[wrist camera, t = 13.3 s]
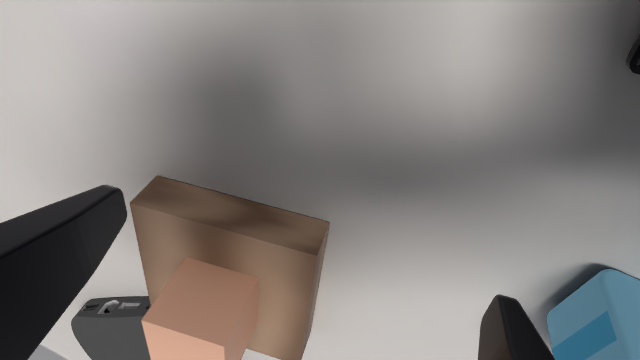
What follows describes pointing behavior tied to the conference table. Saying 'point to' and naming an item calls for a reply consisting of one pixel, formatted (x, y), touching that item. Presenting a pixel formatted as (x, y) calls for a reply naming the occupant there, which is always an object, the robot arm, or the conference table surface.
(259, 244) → the walnut block
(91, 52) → the conference table surface
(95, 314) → the media streaming box
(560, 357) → the data package
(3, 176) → the conference table surface
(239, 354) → the terracotta block
